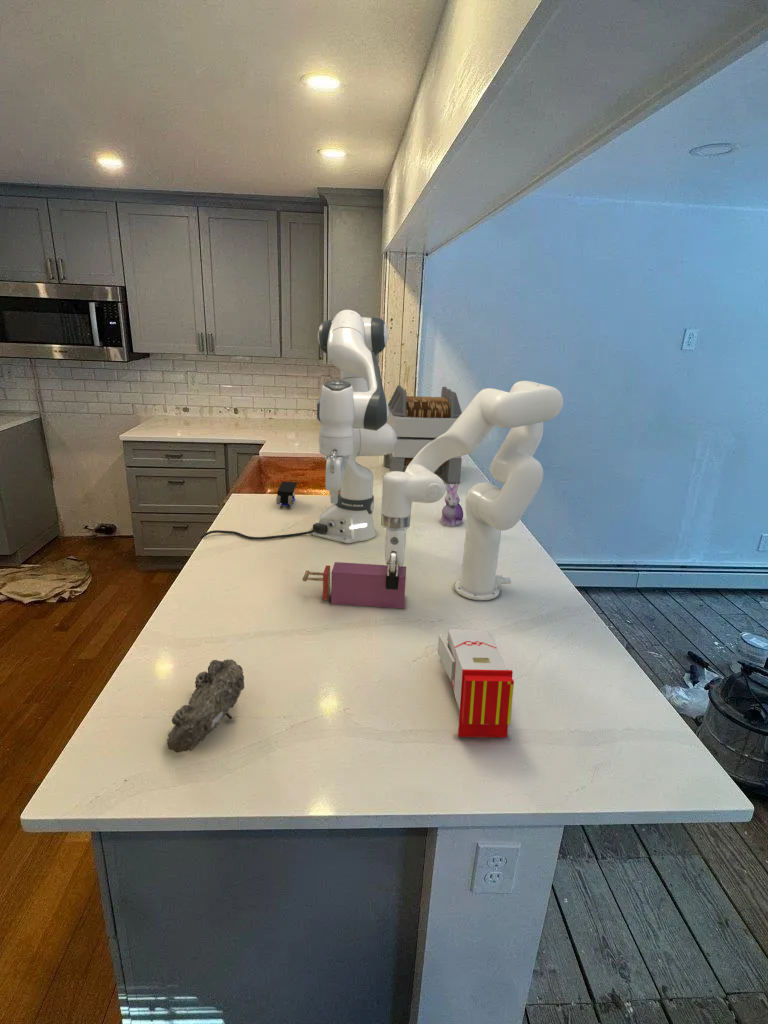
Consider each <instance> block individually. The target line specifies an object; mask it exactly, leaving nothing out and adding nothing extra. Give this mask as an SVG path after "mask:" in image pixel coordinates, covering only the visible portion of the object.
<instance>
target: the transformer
mask: <svg viewBox="0 0 768 1024" xmlns="http://www.w3.org/2000/svg"><path fill="white" fill-rule="evenodd" d="M440 393H441V394H440V396H415V395H414V396H413V395H412V396H411V395H407V394H408V393H407V390H406V389H404V388H403V387H402V385H399V384H398V385H397V386H396V388H395V390H394V392H393V394H392V395H391V398H390V400H389V402H387V403H388V408H389V414H388V419H387V423H388V424H389V425H390V426H391V427H392V428H393V429H394V430H395V432H396V436H397V443H396V447H395V449H394V450H393V451H392V453H390V454H387V455H383V466H384V467H388V468H389V472H392V471H401V472H404V469H405V466H406V467H407V466H408V465H409V464H410V462H411V461H412V460H413V459H414V457H415V456H416V455H417V454H418V452H419V451H420V450H421V449H422V448H423V447H425V446H426V445H427V444H429V443H430V442H432V441H433V440H435V439H436V438H437V437H439V436H441V435H442V434H444V433H445V432H447V431H448V430H449V428H450V427H451V426H452V425H453V424H454V422H455V421H456V420H457V419H458V417H459V416H460V415H461V414H462V412H463V411H462V408H461V405H460V402H459V398H458V395H457V392H455V391H453V390H452V389H451V388H447V386H442V387H441V392H440ZM462 461H463V460H462V456H457V457H454V458H451V459H449V460H447V461H446V462H444V463H443V464H442V465H441V466H439V468H438V469H439V473H440V474H441V475H443V478H444V479H445V481H446V482H447V484H456V483H457V484H459V483H461V472H462ZM438 469H437V470H438Z"/></svg>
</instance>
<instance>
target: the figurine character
mask: <svg viewBox="0 0 768 1024" xmlns="http://www.w3.org/2000/svg"><path fill="white" fill-rule="evenodd" d="M297 484H298V482H296V481H295V482H294V481H284V480H283V481H281V483H280V485H279V487H278V489H277V494H276V498H275V499H276V500H275V503H276V505H279V508H280V509H283V506H285V507H287V509H290V508H291V506H292V505H293V503H294V502H295V501H296V497H295V496H296V492H295V489H296V488H297Z"/></svg>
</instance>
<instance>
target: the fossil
mask: <svg viewBox="0 0 768 1024" xmlns="http://www.w3.org/2000/svg"><path fill="white" fill-rule="evenodd" d="M243 670H244V669H243V667H242V665H240V664H237V662H236V661H235V660H234V659H232V658H231V659H227V658H226V659H224V660H223V661H222V660H217V659H212V660H211V661H210V663H209V665H208V666H207V671H201V672H199V673H198V674H197V675H196V676H195V680H194V684H195V685H194V687H195V689H194V690H193V693H192V694H191V697H190V698H189V700H188V704H184V705H182V706H181V707H180V709H177V710H176V711H175V713H174V715H173V716H172V718H171V723H172V724H173V727H172V730H171V731H170V732H168V734H167V738H166V741H167V742H166V745H167V749H168V750H169V751H173V752H174V753H176V754H178V753H182V752H188V751H189V752H192V751H193V750H195V748H196V747H197V746H199V744H200V743H201V742H203V741H204V740H205V739H206V738H207V737H208V736H209V735H210V734H211V733H212V732H214V730H215V729H217V727H218V726H219V724H220V722H221V721H222V720H223V719H224V718H225V716H226V717H227V719H229V720H233V717H232V715H230V714H229V710H230V709H231V708H234V706H235V704H236V703H237V702H238V699H239V697H240V695H241V693H242V691H243V690H245V689H244V688H245V675H244V671H243Z"/></svg>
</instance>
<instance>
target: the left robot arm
mask: <svg viewBox="0 0 768 1024" xmlns="http://www.w3.org/2000/svg"><path fill="white" fill-rule="evenodd" d="M388 339H389V331H388V327H387V325H386V322H385V320H383V318H380V317H375V316H372V317H366V316H361V315H360V314H359V313H358V312H357V311H355V310H352V309H343V310H341V311H339V312H337V313H336V314H335V316H334V317H333V319H328V320H324V321H322V322H321V323H320V325H319V328H318V331H317V342H318V344H319V347H320V349H321V351H322V352H323V353H324V354H327V357H328V359H329V361H330V362H331V364H332V365H333V366H334V367H335V368H337V369H338V370H340V374H339V379H331V380H327V381H325V382H324V383H323V384H322V386H321V391H320V397H319V398H318V399H317V401H316V419H317V420H318V421H319V423H320V429H319V433H318V434H319V435H318V452H319V454H321V455H323V459H324V460H325V461H326V462H325V479H324V480H325V481H324V482H325V483H324V484H325V485H324V487H325V490H326V491H328V492H329V499H330V504H333V505H331V506H329V507H328V508H326V509H325V510H323V512H321V514H320V515H319V517H318V521H317V522H316V523H314V524H312V528H311V530H308V531H302V532H296V533H287V534H277V535H269V536H268V535H267V536H250V535H246V534H243V533H241V532H238V531H233V530H221V529H217V530H209V531H207V532H205V533H203V534H202V535H201V536H200V537H199V539H204V538H205V537H206V536H208V535H211V534H230V535H231V534H233V535H237V536H239V537H241V538H245V539H248V540H257V541H259V540H271V539H280V538H291V537H297V536H303V535H304V536H305V535H309V534H311V536H315V537H319V538H323V539H326V540H330V541H336V542H339V543H343V544H352V543H357V542H365V541H368V540H372V539H373V538H375V537H376V535H377V532H376V528H375V523H374V513H373V512H374V509H375V496H374V474H373V472H372V471H371V469H369V468H368V467H366V466H364V465H362V464H360V463H359V462H357V461H356V459H357V457H380V456H381V457H382V456H384V455H387V454H390V453H392V451H393V450H394V449H395V447H396V443H397V436H396V432H395V430H394V429H393V428H392V427H391V426H390V425H389V424H388V423H387V419H388V414H389V408H388V403H389V402H388V401H387V398H386V393H385V390H384V386H383V380H382V376H381V375H382V374H381V371H380V366H379V362H378V355H379V354H380V353H382V352H383V351H384V350H385V348H386V346H387V343H388Z"/></svg>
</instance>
